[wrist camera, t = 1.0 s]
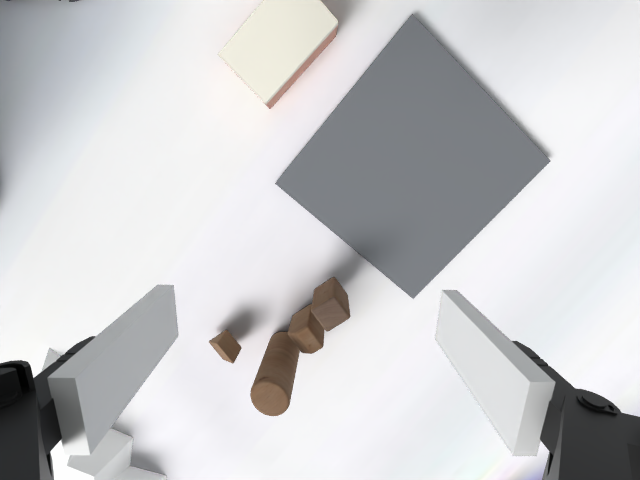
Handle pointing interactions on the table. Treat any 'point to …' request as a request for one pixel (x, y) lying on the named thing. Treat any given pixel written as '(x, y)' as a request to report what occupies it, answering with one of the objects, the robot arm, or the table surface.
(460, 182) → the rubber mat
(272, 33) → the card deck
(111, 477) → the paper sheets
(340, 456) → the table surface
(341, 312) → the wooden block set
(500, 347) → the robot arm
